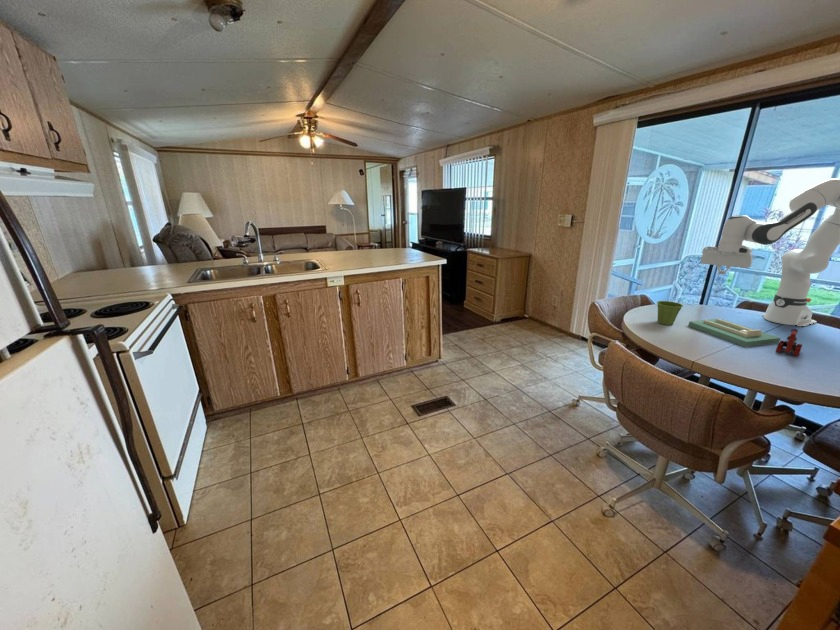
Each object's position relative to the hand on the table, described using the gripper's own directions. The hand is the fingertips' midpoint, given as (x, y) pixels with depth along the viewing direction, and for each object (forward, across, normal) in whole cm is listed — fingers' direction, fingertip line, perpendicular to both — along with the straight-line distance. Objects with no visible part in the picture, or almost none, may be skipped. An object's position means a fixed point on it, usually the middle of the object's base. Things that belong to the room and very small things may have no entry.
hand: (721, 274), depth 177 cm
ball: (+25, +16, -16) cm, 34 cm away
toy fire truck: (+27, +32, -22) cm, 48 cm away
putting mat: (+27, +12, -13) cm, 32 cm away
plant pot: (+27, -15, -19) cm, 37 cm away
